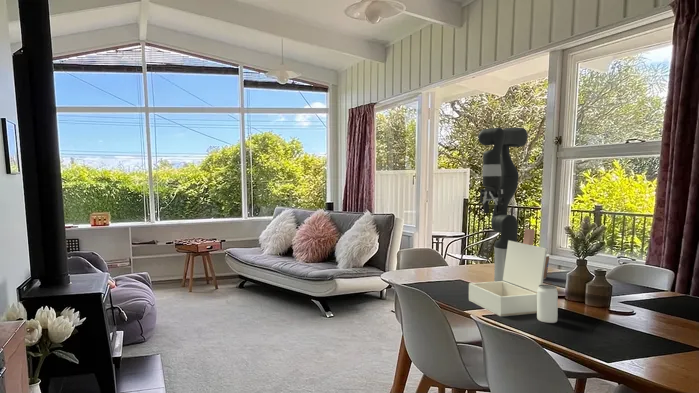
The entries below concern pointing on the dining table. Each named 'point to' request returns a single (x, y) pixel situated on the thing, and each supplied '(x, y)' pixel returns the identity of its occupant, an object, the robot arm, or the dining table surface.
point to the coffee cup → (546, 266)
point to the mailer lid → (525, 262)
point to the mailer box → (503, 298)
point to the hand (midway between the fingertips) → (492, 213)
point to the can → (547, 303)
